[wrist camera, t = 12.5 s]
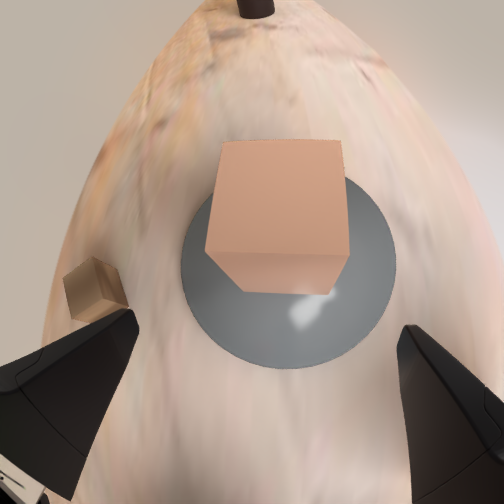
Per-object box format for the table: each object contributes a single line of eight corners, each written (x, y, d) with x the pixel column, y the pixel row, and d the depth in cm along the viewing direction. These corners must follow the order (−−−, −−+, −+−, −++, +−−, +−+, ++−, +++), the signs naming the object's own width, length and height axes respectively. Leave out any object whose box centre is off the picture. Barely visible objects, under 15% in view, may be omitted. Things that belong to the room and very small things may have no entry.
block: (129, 306, 23) (102, 298, 19) (99, 324, 23) (71, 318, 19) (117, 269, 25) (92, 256, 21) (89, 288, 24) (62, 278, 21)
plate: (353, 155, 24) (354, 147, 23) (414, 335, 18) (420, 334, 17) (180, 195, 26) (175, 188, 25) (201, 382, 20) (196, 384, 19)
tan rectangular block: (328, 294, 20) (349, 255, 11) (243, 291, 21) (204, 251, 12) (328, 216, 21) (340, 140, 13) (250, 215, 23) (223, 141, 14)
